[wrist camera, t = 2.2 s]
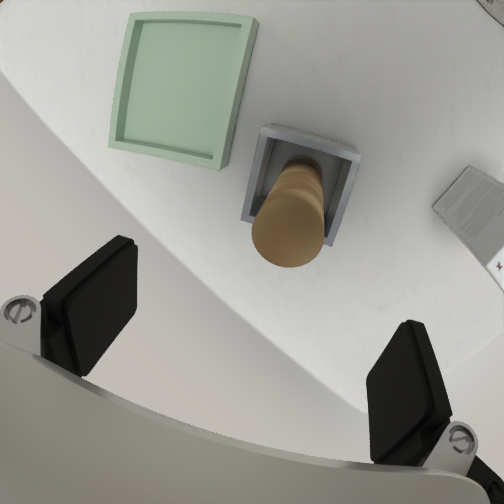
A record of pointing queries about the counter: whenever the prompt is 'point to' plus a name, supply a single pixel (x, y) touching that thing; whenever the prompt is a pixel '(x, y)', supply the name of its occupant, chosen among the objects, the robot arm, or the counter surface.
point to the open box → (310, 141)
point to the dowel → (292, 215)
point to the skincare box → (477, 218)
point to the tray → (181, 85)
